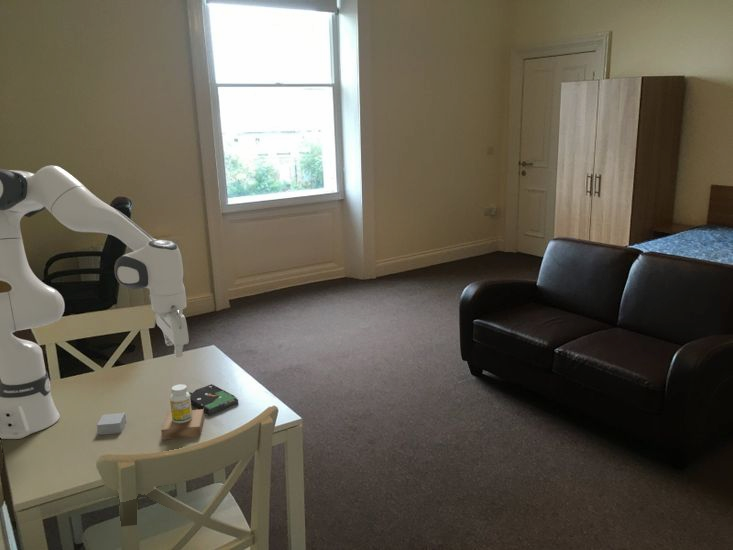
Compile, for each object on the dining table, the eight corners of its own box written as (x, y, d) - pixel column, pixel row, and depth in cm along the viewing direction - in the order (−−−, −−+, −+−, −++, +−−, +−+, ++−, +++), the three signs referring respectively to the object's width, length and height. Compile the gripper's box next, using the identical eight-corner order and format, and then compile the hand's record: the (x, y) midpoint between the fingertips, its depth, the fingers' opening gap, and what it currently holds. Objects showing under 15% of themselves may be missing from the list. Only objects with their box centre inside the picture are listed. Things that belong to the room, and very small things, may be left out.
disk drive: (183, 403, 185) (209, 417, 175) (182, 394, 184) (209, 409, 174) (212, 391, 192) (239, 405, 182) (211, 383, 192) (238, 396, 182)
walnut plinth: (162, 439, 163) (161, 429, 162) (168, 421, 172) (167, 412, 172) (200, 436, 164) (199, 426, 163) (204, 418, 174) (203, 409, 173)
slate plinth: (98, 434, 166) (96, 425, 165) (104, 424, 172) (102, 414, 171) (121, 432, 167) (119, 423, 166) (126, 422, 173) (125, 412, 172)
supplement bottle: (188, 424, 165) (184, 391, 162) (169, 423, 165) (165, 391, 163) (195, 414, 170) (192, 383, 167) (176, 414, 170) (173, 382, 168)
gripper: (192, 309, 152) (197, 360, 156) (170, 290, 169) (175, 336, 173) (166, 314, 149) (172, 366, 153) (147, 294, 166) (153, 341, 170)
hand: (174, 350), depth 163 cm, fingers open, 8 cm apart
